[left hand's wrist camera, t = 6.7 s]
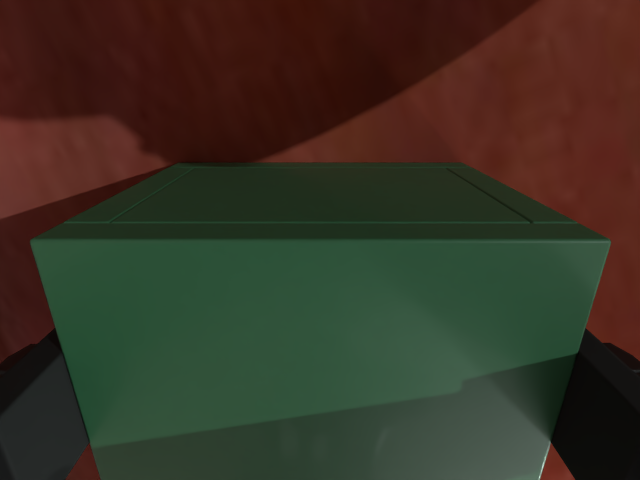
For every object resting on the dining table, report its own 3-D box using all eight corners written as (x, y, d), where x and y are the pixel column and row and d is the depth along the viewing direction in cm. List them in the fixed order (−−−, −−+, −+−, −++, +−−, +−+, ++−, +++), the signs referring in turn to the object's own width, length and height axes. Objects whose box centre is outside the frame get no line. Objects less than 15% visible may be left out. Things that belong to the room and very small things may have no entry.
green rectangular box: (416, 503, 23) (467, 722, 15) (223, 503, 23) (172, 722, 15) (463, 162, 15) (613, 239, 7) (176, 162, 15) (27, 239, 7)
